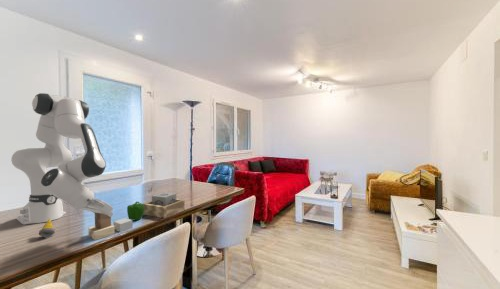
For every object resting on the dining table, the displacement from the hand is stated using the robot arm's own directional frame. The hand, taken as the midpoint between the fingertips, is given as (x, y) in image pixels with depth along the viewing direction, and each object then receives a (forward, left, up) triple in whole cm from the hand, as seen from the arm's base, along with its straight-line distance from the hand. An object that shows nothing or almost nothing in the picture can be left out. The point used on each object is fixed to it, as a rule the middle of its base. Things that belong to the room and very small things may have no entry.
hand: (104, 213), depth 104 cm
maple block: (0, -1, -10) cm, 10 cm away
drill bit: (-21, -13, -10) cm, 26 cm away
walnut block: (0, -1, -6) cm, 6 cm away
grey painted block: (+2, +8, -10) cm, 13 cm away
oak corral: (+2, +35, -9) cm, 37 cm away
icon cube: (+1, +37, -10) cm, 38 cm away
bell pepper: (-3, +19, -10) cm, 22 cm away
